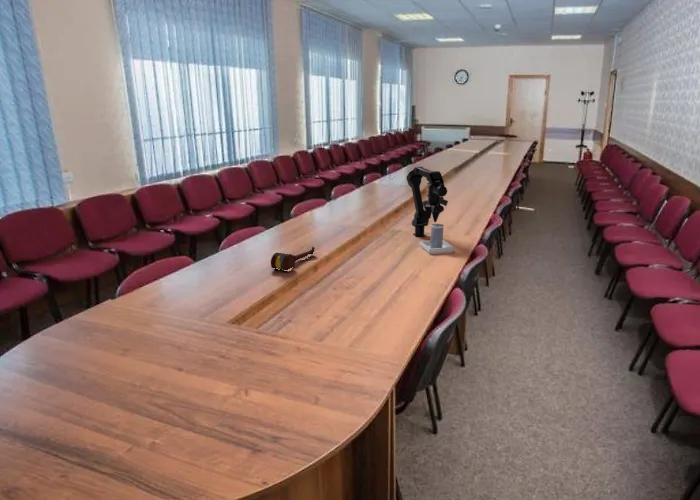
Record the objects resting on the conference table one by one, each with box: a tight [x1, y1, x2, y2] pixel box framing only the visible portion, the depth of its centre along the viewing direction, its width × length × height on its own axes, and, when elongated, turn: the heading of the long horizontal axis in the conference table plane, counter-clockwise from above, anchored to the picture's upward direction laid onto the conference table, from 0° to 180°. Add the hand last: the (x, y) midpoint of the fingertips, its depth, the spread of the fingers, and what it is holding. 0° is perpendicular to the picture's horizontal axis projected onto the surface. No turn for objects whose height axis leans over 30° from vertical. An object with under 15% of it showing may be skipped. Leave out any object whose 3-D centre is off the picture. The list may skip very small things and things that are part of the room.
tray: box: [418, 239, 455, 255], centre depth 267 cm, size 16×14×3 cm
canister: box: [430, 223, 445, 249], centre depth 265 cm, size 7×7×13 cm
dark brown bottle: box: [270, 246, 315, 270], centre depth 244 cm, size 10×34×10 cm
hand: (432, 220), depth 278 cm, fingers open, 9 cm apart
